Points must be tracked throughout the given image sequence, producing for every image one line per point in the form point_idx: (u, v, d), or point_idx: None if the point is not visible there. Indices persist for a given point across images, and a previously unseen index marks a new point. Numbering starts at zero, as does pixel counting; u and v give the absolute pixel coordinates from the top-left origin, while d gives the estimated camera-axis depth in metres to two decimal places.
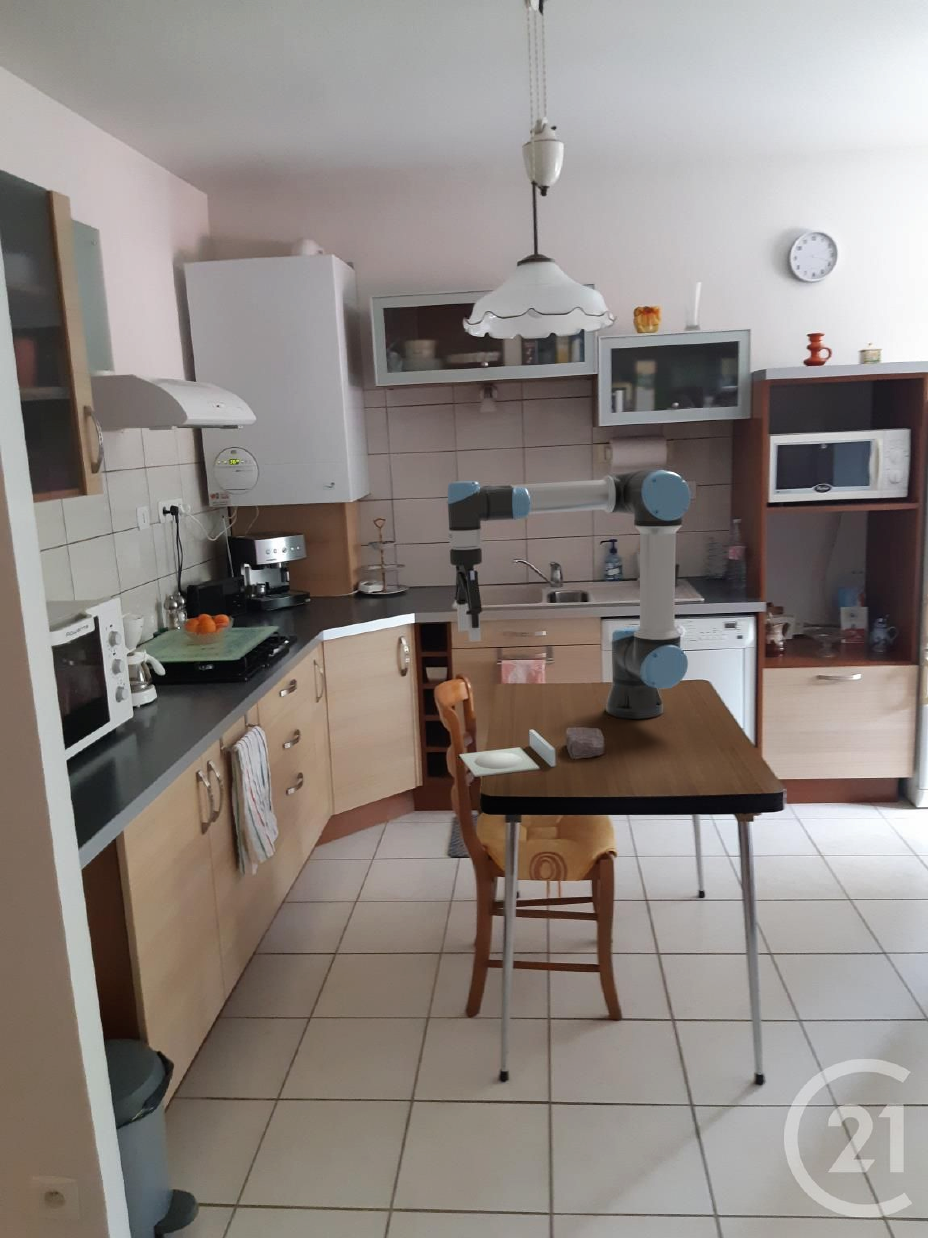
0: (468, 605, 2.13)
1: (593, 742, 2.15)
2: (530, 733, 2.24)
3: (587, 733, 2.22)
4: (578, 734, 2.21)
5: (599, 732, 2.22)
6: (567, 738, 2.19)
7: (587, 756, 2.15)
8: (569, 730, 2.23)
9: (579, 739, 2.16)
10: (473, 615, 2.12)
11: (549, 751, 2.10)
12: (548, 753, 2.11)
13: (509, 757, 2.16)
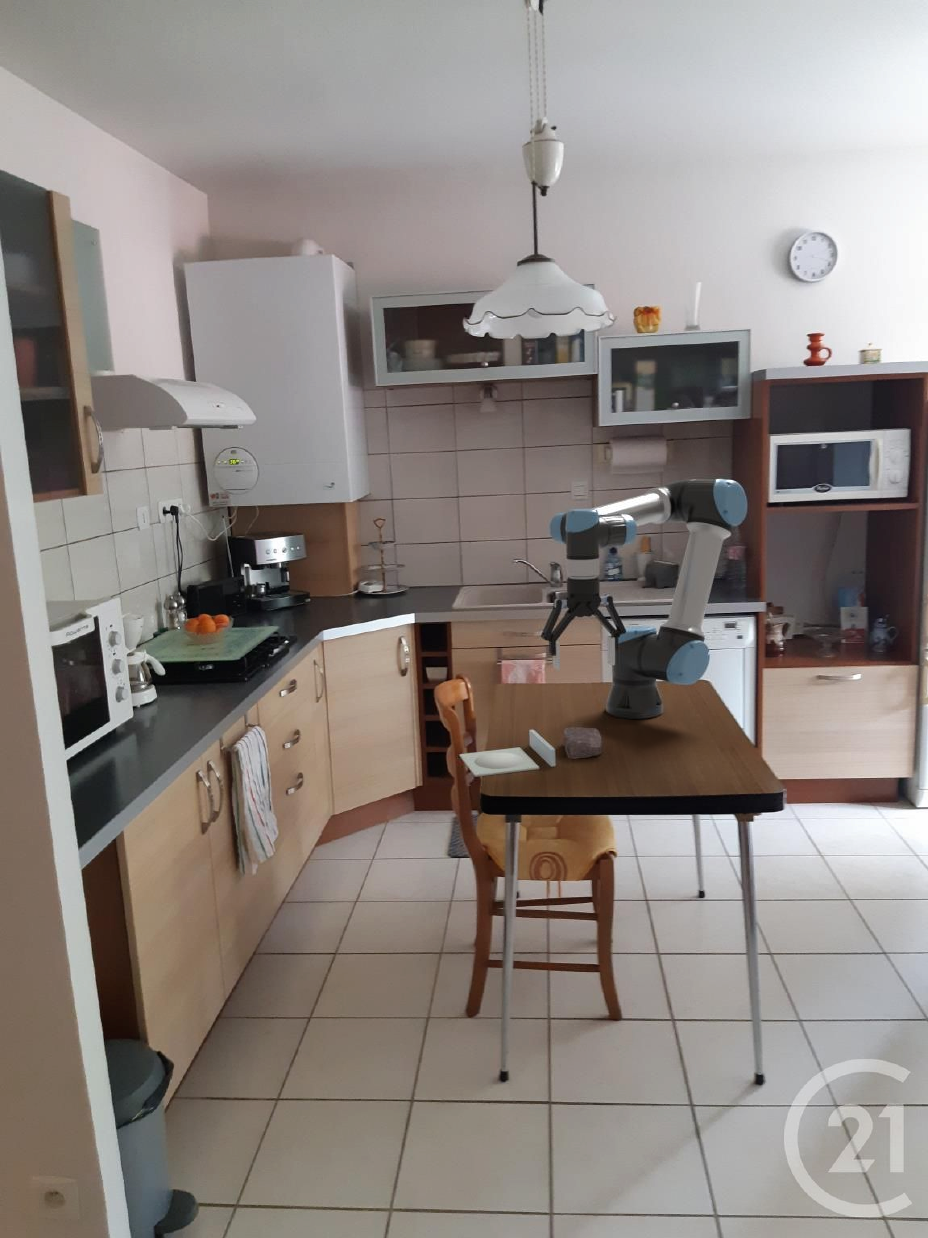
0: None
1: (590, 742, 2.15)
2: (530, 733, 2.24)
3: (584, 733, 2.22)
4: (576, 734, 2.21)
5: (597, 732, 2.22)
6: (565, 738, 2.19)
7: (584, 756, 2.15)
8: (567, 730, 2.23)
9: (576, 739, 2.16)
10: (549, 642, 2.14)
11: (549, 751, 2.10)
12: (548, 753, 2.11)
13: (509, 757, 2.16)
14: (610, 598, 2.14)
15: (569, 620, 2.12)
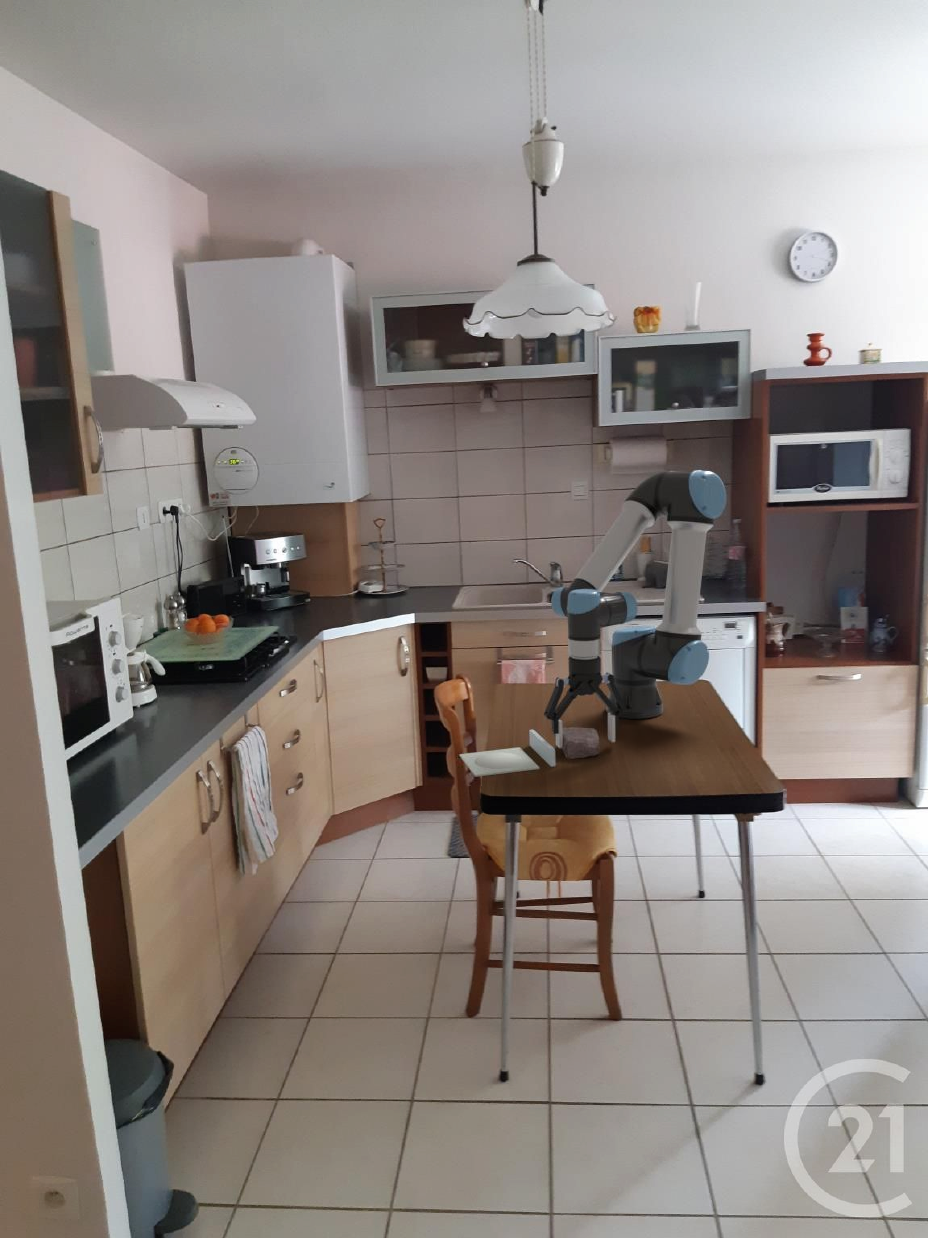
0: None
1: (588, 742, 2.15)
2: (530, 733, 2.24)
3: (582, 733, 2.22)
4: (573, 734, 2.21)
5: (595, 732, 2.22)
6: None
7: (582, 756, 2.15)
8: (565, 730, 2.23)
9: (574, 739, 2.16)
10: None
11: (549, 751, 2.10)
12: (548, 753, 2.11)
13: (509, 757, 2.16)
14: (611, 677, 2.17)
15: (571, 699, 2.16)
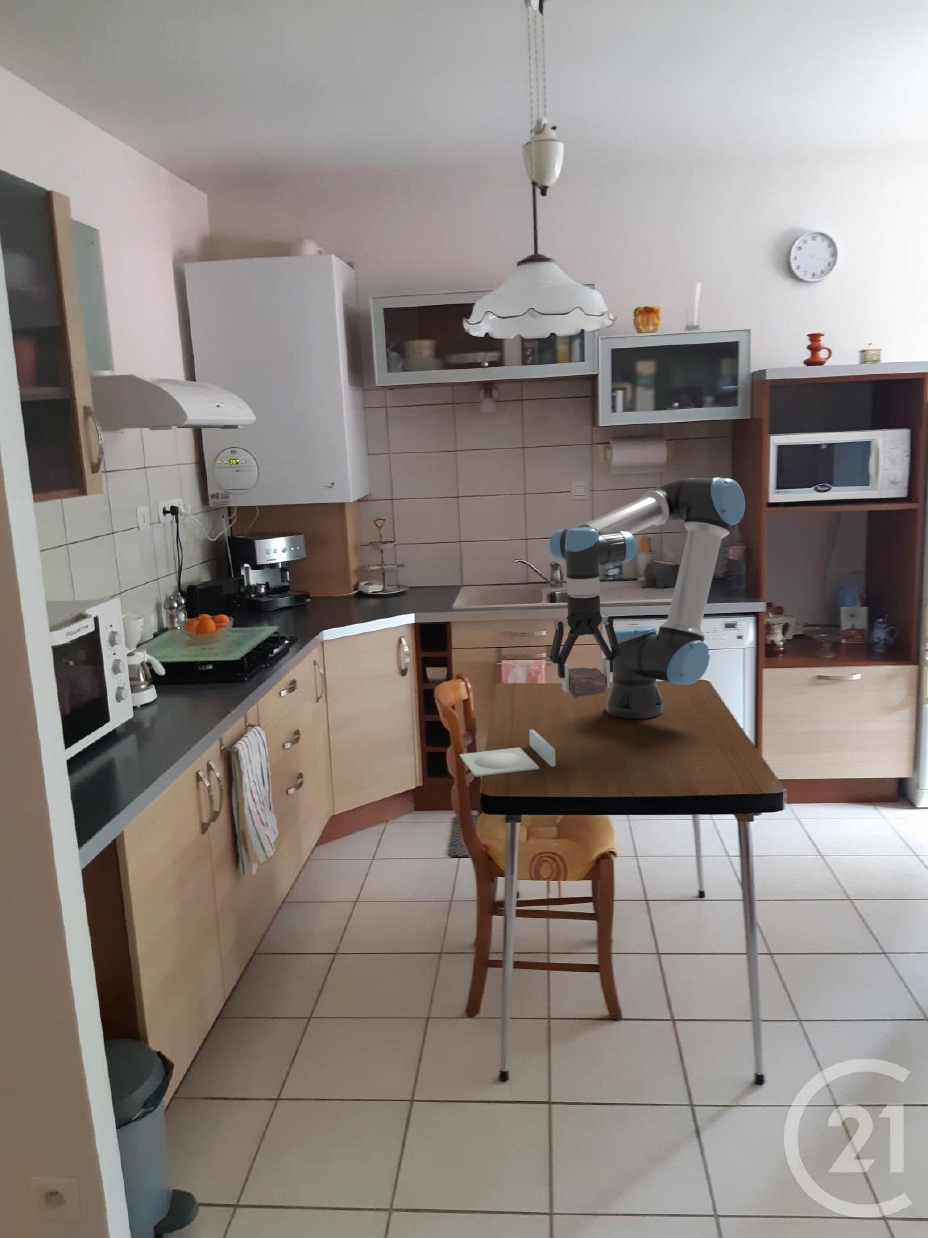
0: None
1: (595, 680, 2.13)
2: (530, 733, 2.24)
3: (587, 672, 2.20)
4: (578, 674, 2.19)
5: (599, 671, 2.21)
6: None
7: (590, 694, 2.13)
8: (569, 670, 2.20)
9: (581, 678, 2.14)
10: (557, 664, 2.16)
11: (549, 751, 2.10)
12: (548, 753, 2.11)
13: (509, 757, 2.16)
14: (611, 618, 2.15)
15: (573, 640, 2.14)
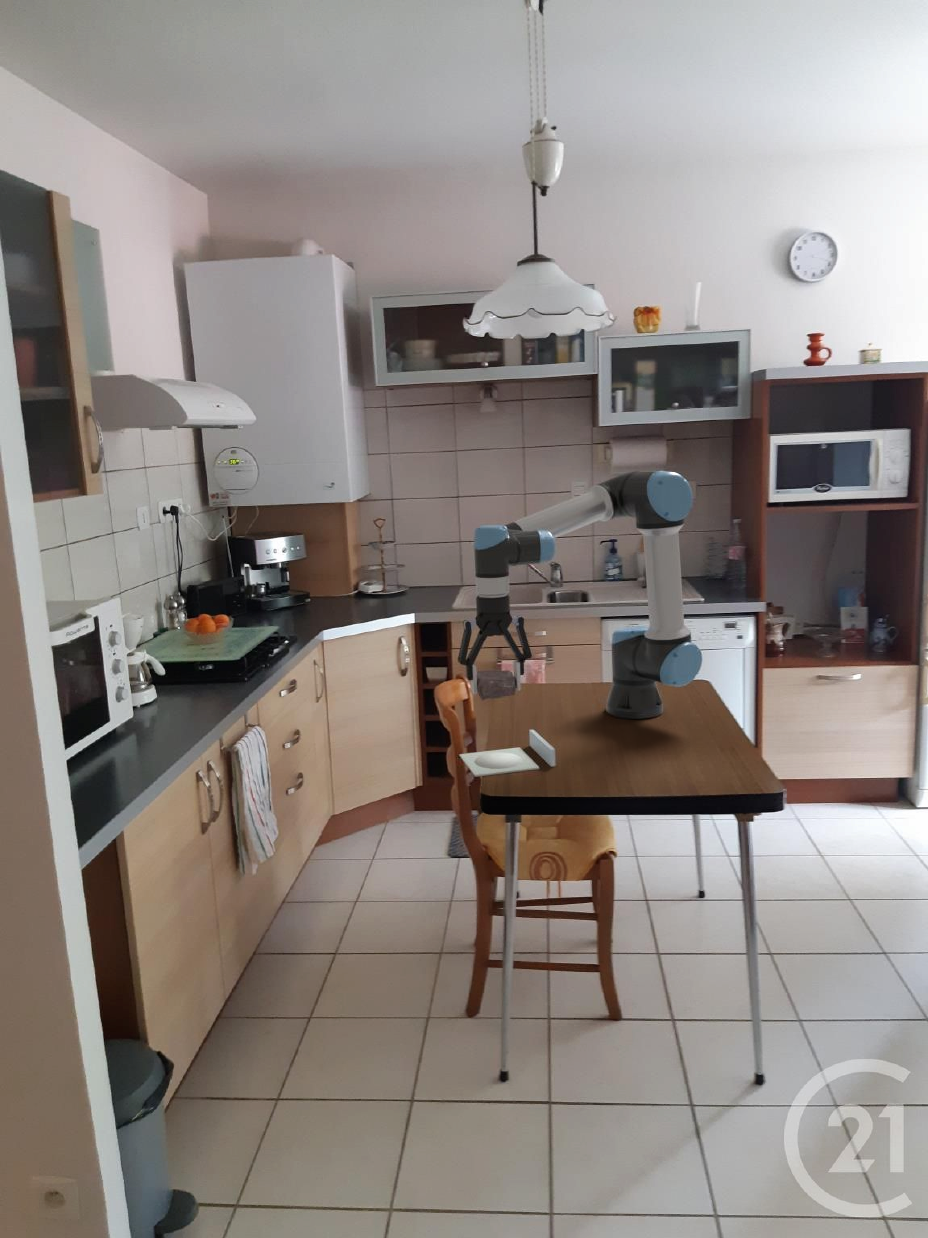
0: None
1: (504, 682, 2.07)
2: (530, 733, 2.24)
3: (497, 675, 2.13)
4: (488, 676, 2.12)
5: (510, 674, 2.14)
6: (477, 679, 2.10)
7: (498, 697, 2.06)
8: (479, 672, 2.14)
9: (489, 680, 2.08)
10: (466, 666, 2.09)
11: (549, 751, 2.10)
12: (548, 753, 2.11)
13: (509, 757, 2.16)
14: (521, 619, 2.09)
15: (482, 641, 2.07)
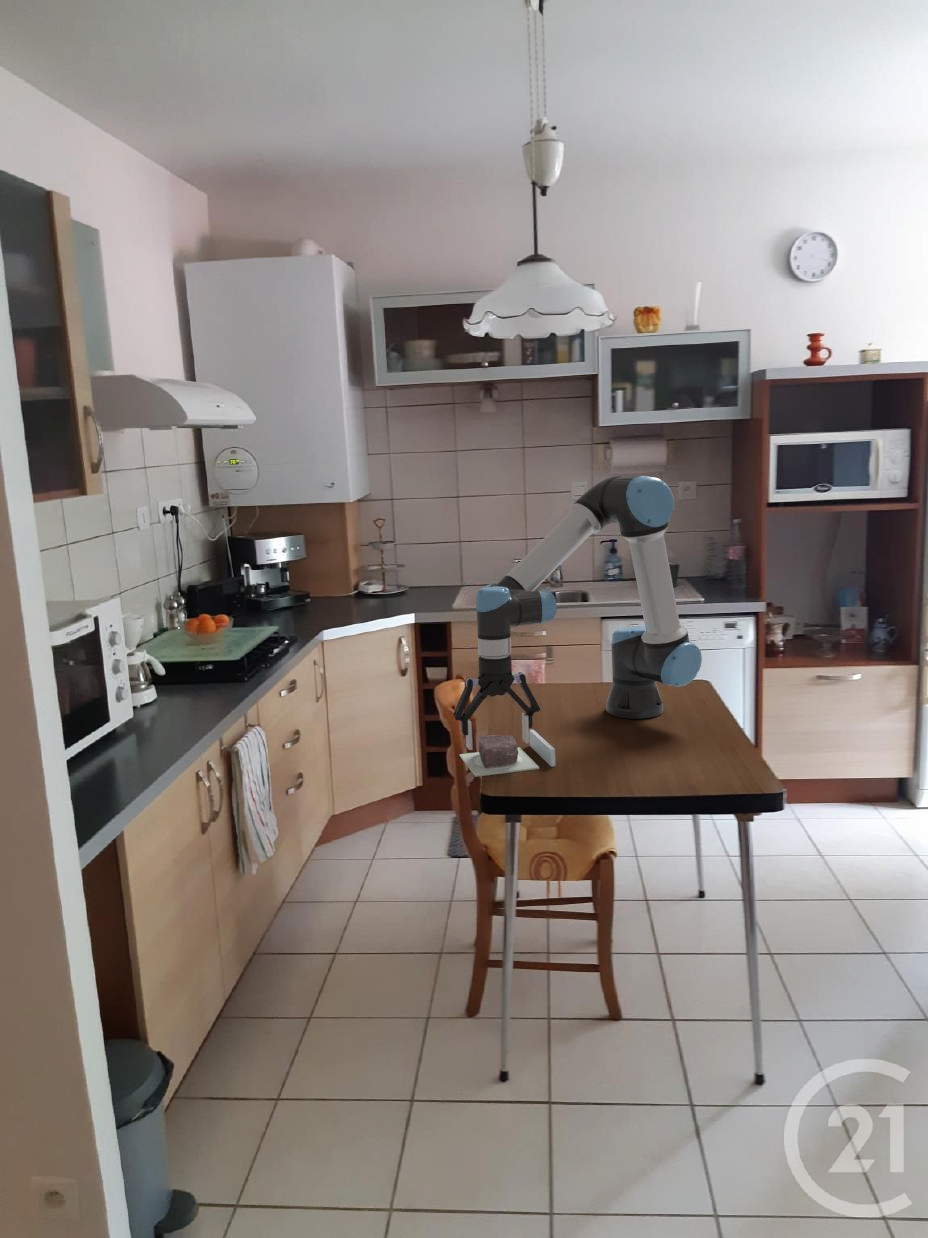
0: None
1: (506, 750, 2.10)
2: (530, 733, 2.24)
3: (500, 741, 2.16)
4: (491, 742, 2.15)
5: (512, 739, 2.17)
6: (480, 746, 2.13)
7: (500, 764, 2.09)
8: (482, 738, 2.17)
9: (492, 747, 2.10)
10: (461, 721, 2.11)
11: (549, 751, 2.10)
12: (548, 753, 2.11)
13: None
14: (523, 676, 2.11)
15: (481, 699, 2.10)
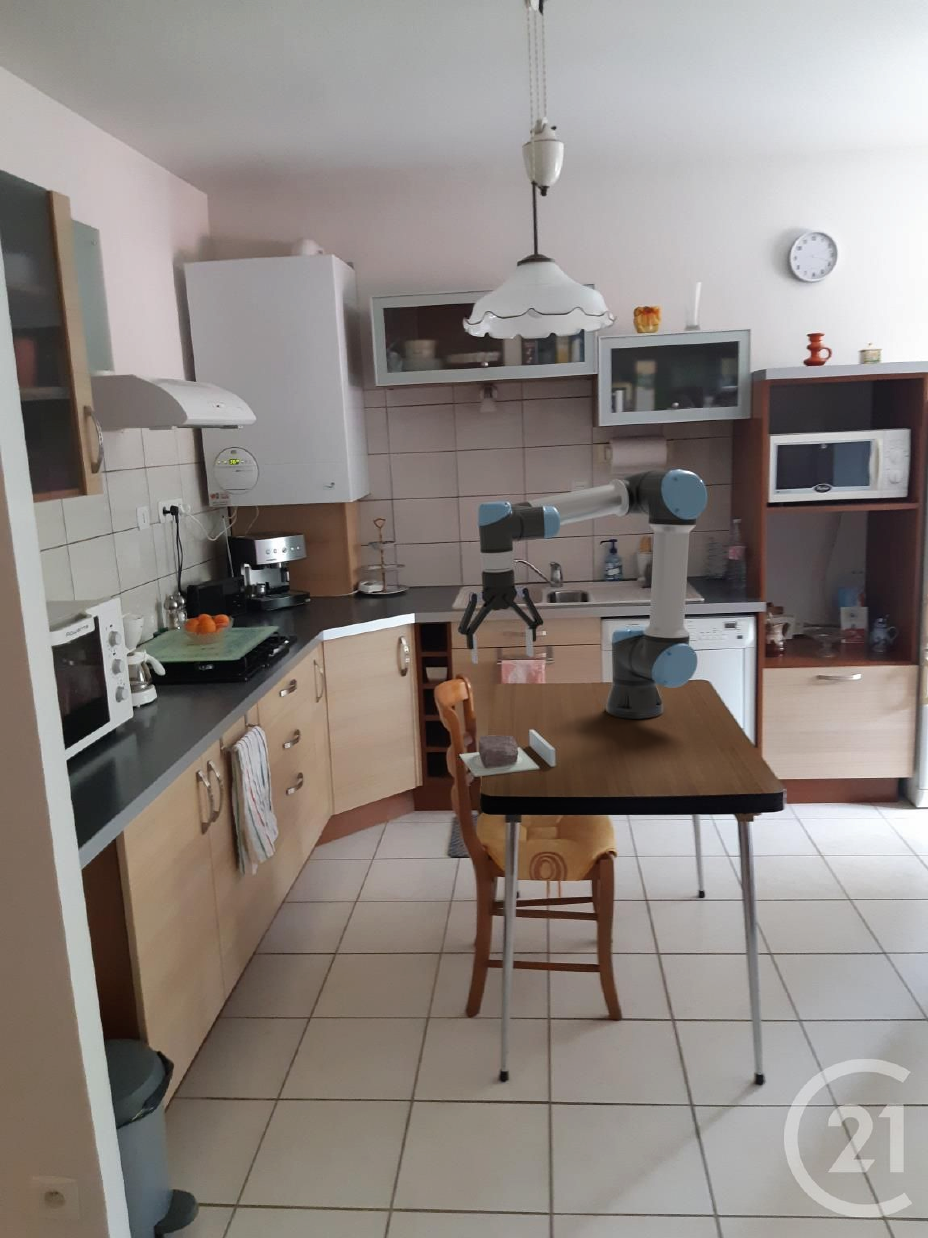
0: None
1: (506, 750, 2.10)
2: (530, 733, 2.24)
3: (500, 741, 2.16)
4: (491, 742, 2.15)
5: (512, 739, 2.17)
6: (480, 746, 2.13)
7: (500, 764, 2.09)
8: (482, 738, 2.17)
9: (492, 747, 2.10)
10: (466, 636, 2.14)
11: (549, 751, 2.10)
12: (548, 753, 2.11)
13: None
14: (526, 590, 2.14)
15: (485, 613, 2.13)
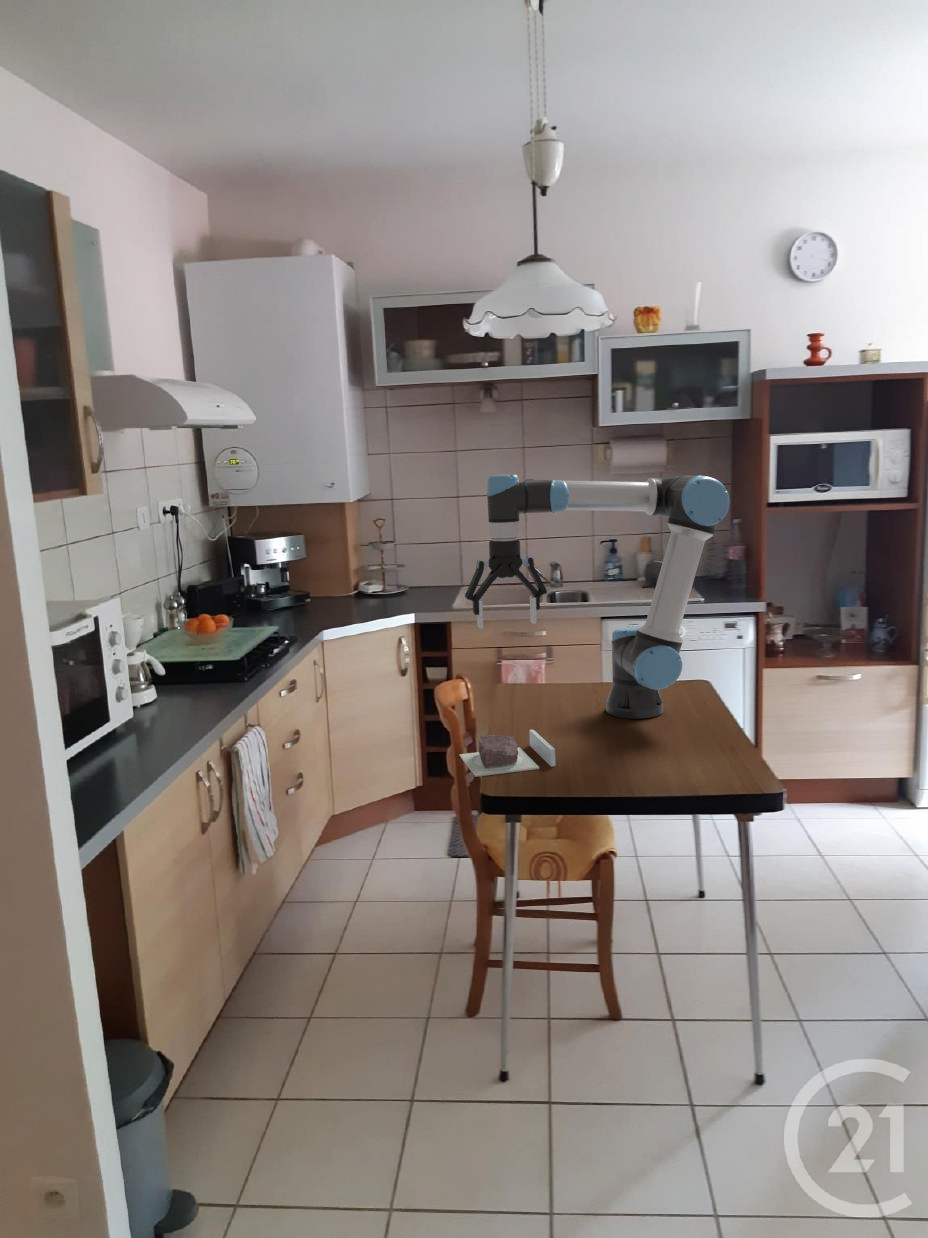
0: None
1: (506, 750, 2.10)
2: (530, 733, 2.24)
3: (500, 741, 2.16)
4: (491, 742, 2.15)
5: (512, 739, 2.17)
6: (480, 746, 2.13)
7: (500, 765, 2.09)
8: (482, 738, 2.17)
9: (492, 747, 2.10)
10: (472, 601, 2.25)
11: (549, 751, 2.10)
12: (548, 753, 2.11)
13: None
14: (531, 560, 2.25)
15: (491, 580, 2.23)
